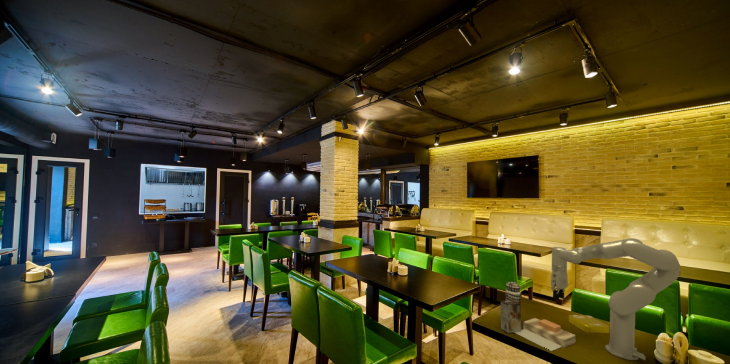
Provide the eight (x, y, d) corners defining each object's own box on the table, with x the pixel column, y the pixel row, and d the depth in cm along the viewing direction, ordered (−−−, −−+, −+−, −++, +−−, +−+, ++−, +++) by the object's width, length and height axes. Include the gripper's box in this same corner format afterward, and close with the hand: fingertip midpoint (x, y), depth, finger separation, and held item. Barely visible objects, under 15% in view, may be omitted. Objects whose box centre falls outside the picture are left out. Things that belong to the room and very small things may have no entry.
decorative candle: (523, 327, 168) (524, 285, 168) (508, 326, 168) (509, 285, 168) (515, 320, 177) (517, 280, 177) (501, 319, 177) (502, 280, 177)
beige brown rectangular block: (575, 342, 153) (575, 335, 153) (563, 347, 147) (564, 340, 147) (534, 324, 172) (535, 317, 172) (523, 328, 166) (523, 321, 166)
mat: (561, 346, 148) (561, 346, 148) (551, 351, 143) (551, 350, 143) (524, 329, 165) (524, 328, 165) (514, 332, 160) (514, 332, 160)
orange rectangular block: (560, 330, 157) (560, 326, 157) (555, 332, 155) (555, 328, 155) (544, 323, 165) (544, 319, 165) (538, 325, 162) (538, 321, 162)
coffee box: (512, 326, 168) (512, 299, 169) (521, 331, 162) (521, 303, 163) (500, 328, 165) (500, 300, 166) (508, 333, 159) (508, 304, 160)
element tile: (586, 333, 164) (586, 325, 164) (567, 321, 179) (567, 313, 179) (610, 334, 165) (611, 325, 165) (589, 321, 180) (589, 314, 180)
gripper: (558, 271, 158) (557, 303, 157) (573, 268, 166) (572, 299, 165) (544, 268, 164) (543, 298, 164) (559, 265, 172) (559, 294, 172)
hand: (558, 298), depth 165 cm, fingers open, 4 cm apart
